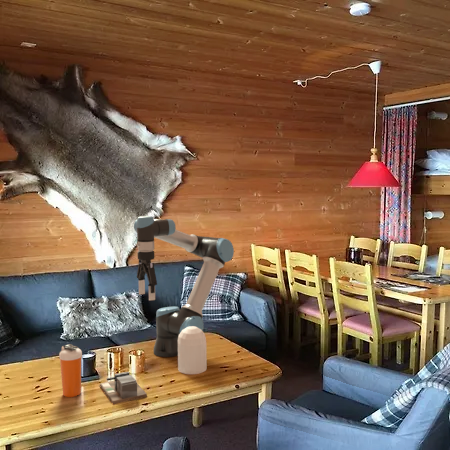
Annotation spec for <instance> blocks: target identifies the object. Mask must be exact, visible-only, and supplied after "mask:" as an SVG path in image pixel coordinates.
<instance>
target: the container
mask: <svg viewBox="0 0 450 450" xmlns="http://www.w3.org/2000/svg"><path fill="white" fill-rule="evenodd" d="M207 361H208V359H207V338H206V334H205V333H204V331H203V330H201V329H199V328H197V327H195V326H189V327H187V328H185V329H183V330H182V331H181V333H180V334H179V336H178V355H177V369H178V372H180V373H181V374H185V375H198V374H202V373H205V372H206V371H207V363H208V362H207Z"/></svg>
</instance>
